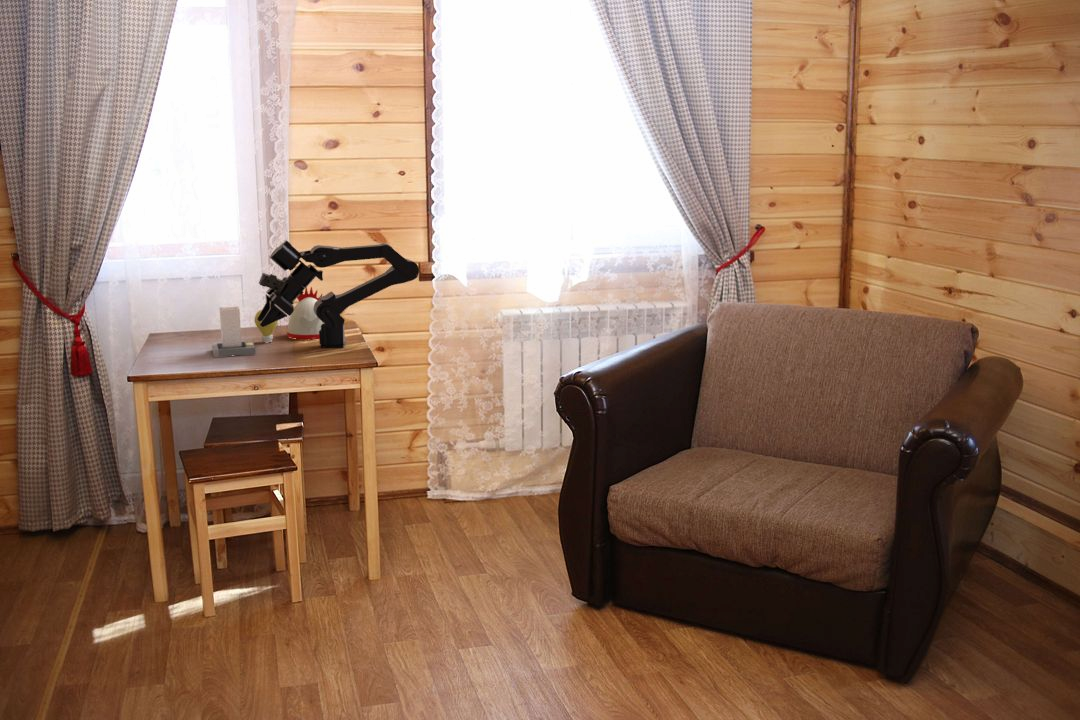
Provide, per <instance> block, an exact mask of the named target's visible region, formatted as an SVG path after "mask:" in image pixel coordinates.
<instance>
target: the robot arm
mask: <svg viewBox="0 0 1080 720" xmlns="http://www.w3.org/2000/svg"><path fill="white" fill-rule="evenodd" d="M269 259H270V260H271V261H273V262H274V263H276V265H277V266H278V267H280V269H281V270H283V271H285V272H286V271H287V270H288V271H290V272H291V271H292V272H291V273H290V274H289V275H288V276H284V277H283V278H282V279H281V278H278V277H277V275H274V274H273V273H270V274H267V273H265V272H262V274H261V276H260V278H259V280H258V281H259V282H258V284H259V286H262V287H267V288H268V290H267V291H266V293H265V304H264V306H263V307H262V309H261V310H262V311H261V313H260V314H259V316H258V318H257V320H258V321H262V322H261V323H260V326H262V327H265V326H267V325H269V324H271V323H273V322H275V321H277V320H278V321H279V320H282V319H285V318H287V317H288V316H289V317H290V316H291V314H292V313H293V311H294V307H295V306H294V302H295V301H296V299H297V297H298V296H299V295H300V294H301V295H302V294H305V289H306V287H307V288H308V286H309V285H310V284H311V283H312V282H313V281H314V280H315V279H316V278H317V279H318V280H319V281H321V282H322V281H323V280H324V279H323V277H324V276H323V273H324V271H323V270H322V269H323V268H324V269H325V268H327V267H332V266H334V265H339V264H340V263H343V262H352V261H353V262H354V261H360V260H361V261H362V260H363V261H364V260H374V259H375V260H376V259H384V260H385V261H386V262H388V264H390V265H391V266H390V267H389V268H387V270H386V271H385V272H384V273H381V274H379V275H378V276H375V277H373V278H371V279H369V280H367V281H365V282H363V283H361V284H358V285H357V286H355V287H353V288H350V289H349V290H346V291H345V292H342V293H339V294H335V293H333V291H329V292H327V294H325V295H322V297H320V296H318V298H320V299H319V300H318V301H316V302H315V304H314V313H315V314H316V316H317V317H318V318H319V319H320V320H321V321H322V322H323V323H324V324H322V325H321V329H320V331H319V345H320V348H323V349H324V348H325V349H326V348H344V347H345V345H346V344H347V341H346V335H345V333H346V332H345V321H346V320H345V318H344V317H343V316H342V313H343V312H344V311H345V310H347V309H348V308H349V307H351V306H352V305H355V304H357V303H359V302H361V301H363V300H364V299H367V298H369V297H371V296H373V295H375V294H377V293H379V292H381V291H384V290H385V289H387V288H390V287H391V286H394V285H395V286H396V285H400V284H405V283H409V282H412V281H414V280H415V279H417V278H418V276H419V274H420V267H419V265H418V264H417V263H416V262H415V261H413V260H411V259H409V258H405V257H403V256H402V255H401V254H400V253H399V252H398V251H396V250H395V249H394V248H393V247H392V245H390V244H388V243H384V242H383V243H380V244H371V245H369V244H368V245H357V246H355V245H354V246H345V247H344V246H343V247H338V246H331V245H319V244H318V245H314V246H313V247H312V248H311V249H309V250H305V251H304V250H303V251H299V250H297V249H296V248H295V247H294V246H293V245H292V244H291V243H290V242H289V241H288V240H287V239H286V240H285V241H284V242H282V243H281V244H280V245H279V246H278V247H276V248H275V249H274V250H273V251H272V252H271V253H270V255H269ZM301 259H302V260H303V261H304V262H305V263H304V262H303V261H302V260H301ZM306 263H310V264H308V265H307V264H306ZM312 264H314V265H315V266H316V267H317V268H322V269H319V270H318V269H317V268H316V267H315V266H314V265H312Z"/></svg>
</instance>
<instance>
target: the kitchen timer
mask: <svg viewBox="0 0 1080 720" xmlns="http://www.w3.org/2000/svg"><path fill="white" fill-rule="evenodd" d="M317 295H318V289H316V290H315V291H313V287H312V286H310V290H309V291H308V286H307V287H306V288H305V289H304V293H303V294H302V295H301V294H300V295H299V296H298V297H297V298H296V299H297V300H298V302H297V303H296V304H295V306H294V311H293V313H292V314H291V315H290V316H289V320H288V324H287V331H286V333H287V335H286V336H288V337H291V338H296V339H307V340H306V341H309V340H308V339H311V340H310V341H313V340H312V339H319V331H320V329H321V325H322V324H324V323H323V322H322V321H321V320H320V319H319V318H318V317H317V316H316V314H315V313H314V304H315V302H316V301H318V300H319V299H320V298H319V297H322V296H323V293H321V294H320V295H319V297H318V296H317ZM288 337H287V338H288Z"/></svg>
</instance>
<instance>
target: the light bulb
mask: <svg viewBox="0 0 1080 720" xmlns="http://www.w3.org/2000/svg"><path fill="white" fill-rule="evenodd" d="M261 311H262V309H260V310H259V311H257V312H256V314H255V316H254V324H255V326H256V328H257V329H258V330H259V332H260V333H261V334H262V335H261V340H263V341H262V342H271V343H272V340H273V338H274V335H273V332H274V331H275V329H276V328H277V327H276V326H277V325H278V323H279V320H277V321H275V322H273V323H271V324H269V325H267V326H265V327H262V326H260V323H261V322H262V321H258V320H257V318H258V316H259V314H260V313H261Z"/></svg>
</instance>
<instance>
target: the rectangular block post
mask: <svg viewBox="0 0 1080 720" xmlns="http://www.w3.org/2000/svg"><path fill="white" fill-rule="evenodd" d="M218 310H219V321H220V323H219V324H220V337H221V343H222V349H226V348H242V343H241V341H242V331H241V328H242V327H241V315H240V308H239V306H225V307H219V309H218Z"/></svg>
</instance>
